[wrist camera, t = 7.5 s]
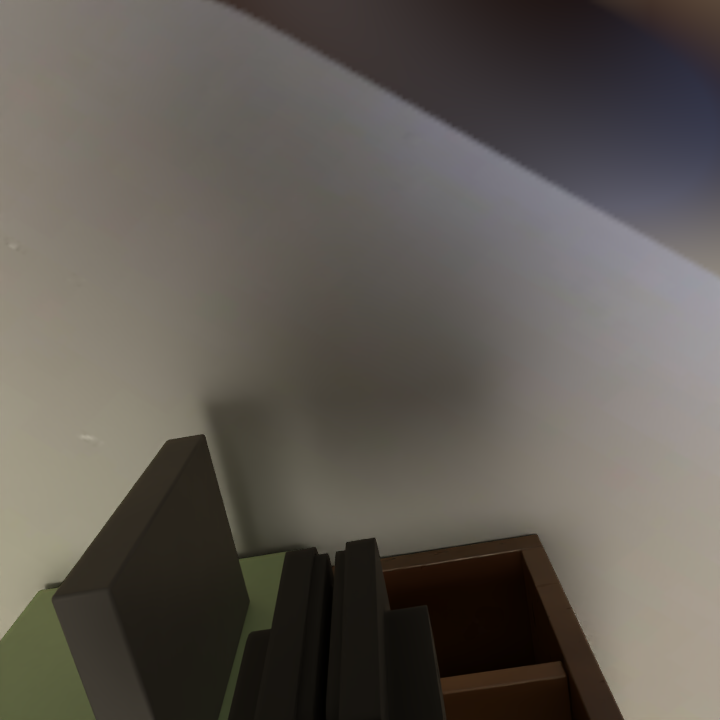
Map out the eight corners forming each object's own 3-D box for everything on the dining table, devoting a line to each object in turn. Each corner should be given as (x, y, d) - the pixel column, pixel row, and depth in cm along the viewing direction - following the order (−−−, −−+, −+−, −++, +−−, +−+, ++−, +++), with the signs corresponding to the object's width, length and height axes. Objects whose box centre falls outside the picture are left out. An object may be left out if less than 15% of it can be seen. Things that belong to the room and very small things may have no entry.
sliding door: (-17, 443, 22) (-370, 694, 12) (264, 394, 22) (165, 613, 11) (45, 607, 24) (-210, 955, 14) (305, 566, 24) (255, 897, 13)
